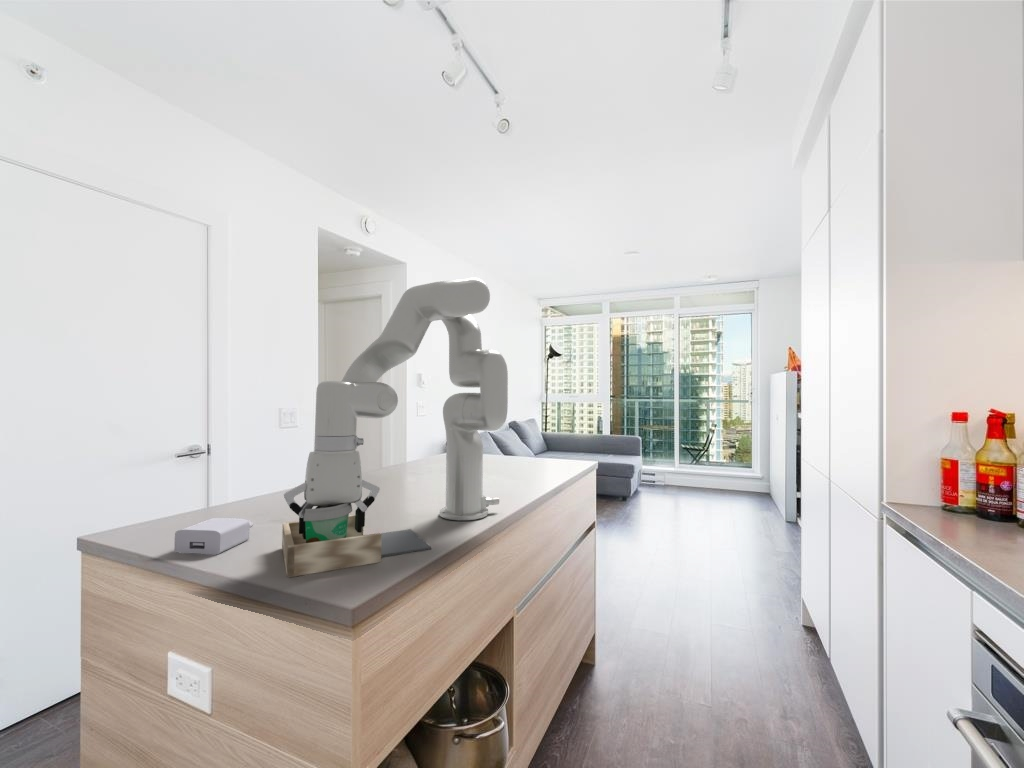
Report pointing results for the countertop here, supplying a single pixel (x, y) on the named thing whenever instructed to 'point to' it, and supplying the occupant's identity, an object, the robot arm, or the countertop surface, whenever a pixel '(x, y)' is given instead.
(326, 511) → the food container
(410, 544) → the mat
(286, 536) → the open box
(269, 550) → the countertop surface
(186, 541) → the charger
